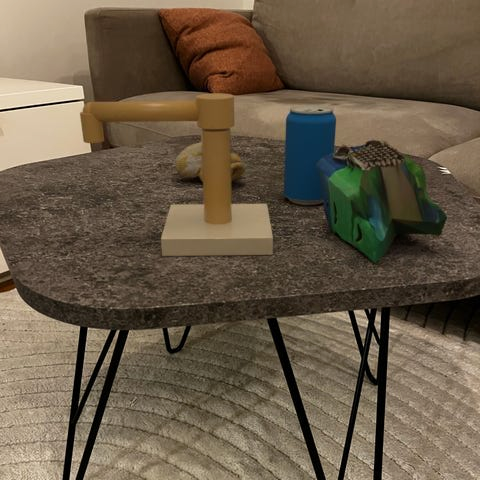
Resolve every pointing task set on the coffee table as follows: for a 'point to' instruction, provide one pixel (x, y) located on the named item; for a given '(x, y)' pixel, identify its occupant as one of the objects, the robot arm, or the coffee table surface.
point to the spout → (158, 113)
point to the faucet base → (217, 212)
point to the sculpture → (376, 197)
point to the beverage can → (307, 151)
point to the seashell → (192, 163)
